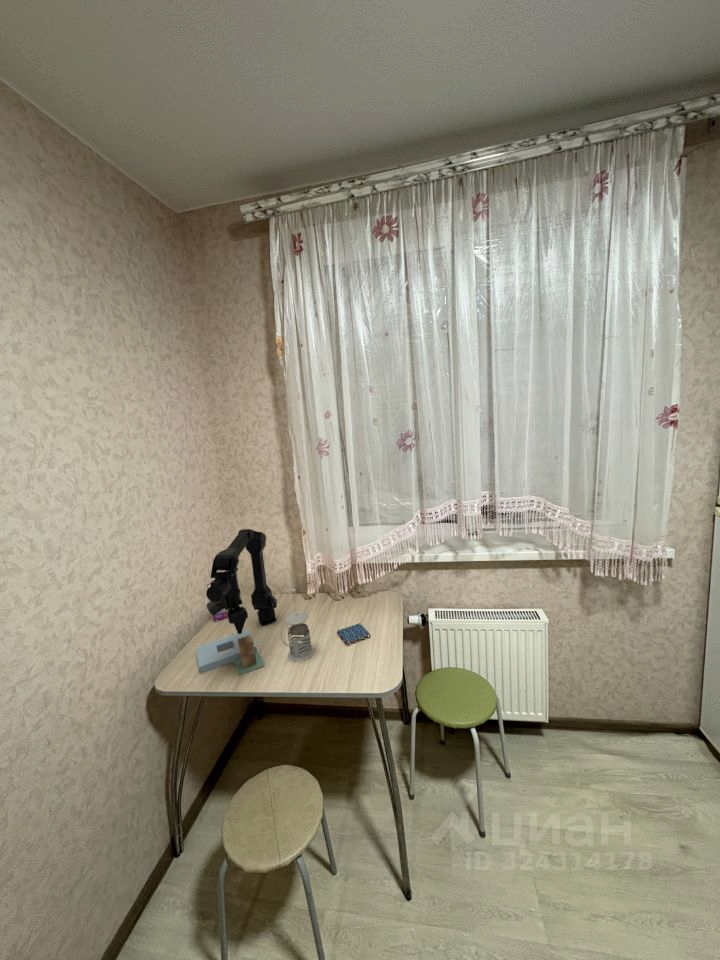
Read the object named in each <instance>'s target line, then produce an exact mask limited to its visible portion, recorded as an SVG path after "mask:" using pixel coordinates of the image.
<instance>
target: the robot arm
mask: <svg viewBox="0 0 720 960" xmlns="http://www.w3.org/2000/svg"><path fill="white" fill-rule="evenodd" d="M266 541H267V536H266V534H265V533H264V532H263V531H257V530H254V529H251V528H247V529H246V528H244V529H243V528H242V529H240V530H238V533H237V535H236V536H235V538H234V539H233V540H232V541H231V543H230V544H229V545H228V546H227V547H226V549H224V550H221V551H219V552H218V553H217V554H216V555H214V559H213V561H212V566H211V573H210V579H213V580H211V582H210V585H211V586H210V587H209V588H207V589H206V594H205V595H206V598H207V599H208V600H209V602H208V603H207V604H206V608H207V610H208V611H209V612H208V613H209V614H210V615H211V616H212V617H213V616H214V615H216V614H217V613H218V612H220V611H221V610H222V609H224V608H225V610H228V611H229V612H228V613H227V617H228V618H227V620H228V623H229V624H231V625H232V624H233V626H234V628H235V630H236V634H237V633H238V634H241V633H242V632H243V631H244V627H245V623H246V622H247V619H248V617H249V613H248V611H247V609H246V607H244V606H240V605H243V601H242V598H241V594H242V593H241V589H240V586H239V581H238V575H237V571H239V568H238V565H239V563H240V558H239V557H240V555H241V554H242V552H243V551H244V549H245V550H246V551H247V553H248V554H249V555H250V559H251V569H252V575H253V581H254V582H253V583H254V590H253V592H252V593H251V595H250V597H251V605H252V607H253V610H254V611H257V612H256V616H257V621H258V623H259V624H260V626H266V625H269V624H273V623H276V622H277V621H278V620H277V618H276V614H275V611H276V610H275V609H276V608H277V607H278V606H277V604H278V601H277V600H278V599H277V598H276V597H275V596H274V595H273V593H272V592H273V591H272V589H271V588H270V587H269V586H268V585H267V576H266V569H265V560H264V552H263V551H264V549H265V548H266V544H267V542H266Z"/></svg>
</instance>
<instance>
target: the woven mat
mask: <svg viewBox="0 0 720 960" xmlns="http://www.w3.org/2000/svg"><path fill="white" fill-rule="evenodd" d="M336 634H337V637H339V636H340V637H339V639H341V641H342V643H343V642H344V643H343V644H344V645H345V646H346V645H347V646H346V647H349V646H350V645H352V643H353V644H357V641H359V642H360V640H361V638H362V639H364V638H366V637H367V638H368V635H369V637H371V634H370V632H369V631H368V630H367V629H366V628H365V626H363V624H361V622H359V623H356V624H351V626H350V625H349V626H345V627H344V628H340V629H338V630H337V631H336ZM367 638H366V639H367ZM364 640H365V639H364ZM361 641H362V640H361ZM354 642H355V643H354ZM348 645H349V646H348Z"/></svg>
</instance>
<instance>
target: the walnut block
mask: <svg viewBox="0 0 720 960" xmlns="http://www.w3.org/2000/svg"><path fill="white" fill-rule="evenodd" d="M251 635H252V634H251ZM251 635H249V636H246V637H243V638H240V639H238V645H239V651H240V657H241V663H242V665H243V668H244V669H245V668H248V667H250V666H253V665H256V664H257V663H256V657H255V650H254V644H253V640H254V639H253V640H252V638H253V636H252V637H251Z"/></svg>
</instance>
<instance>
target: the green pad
mask: <svg viewBox="0 0 720 960" xmlns="http://www.w3.org/2000/svg"><path fill="white" fill-rule="evenodd" d="M255 657H256V663H257V664H256V665H253V666H250V667H248V668H245V669H244V668H243V665H242V663H241V659H238V660H236V661H234V662H233V663H234V665H235V669H236V672H237V675H238V677H240V676H242V675H245V674H248V673H251V672H254V671H256V670H259V669H261V668H264V667H265V662H264V660H263V658H262V656H261V653H260V652H258V651H257V653H255Z"/></svg>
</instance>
